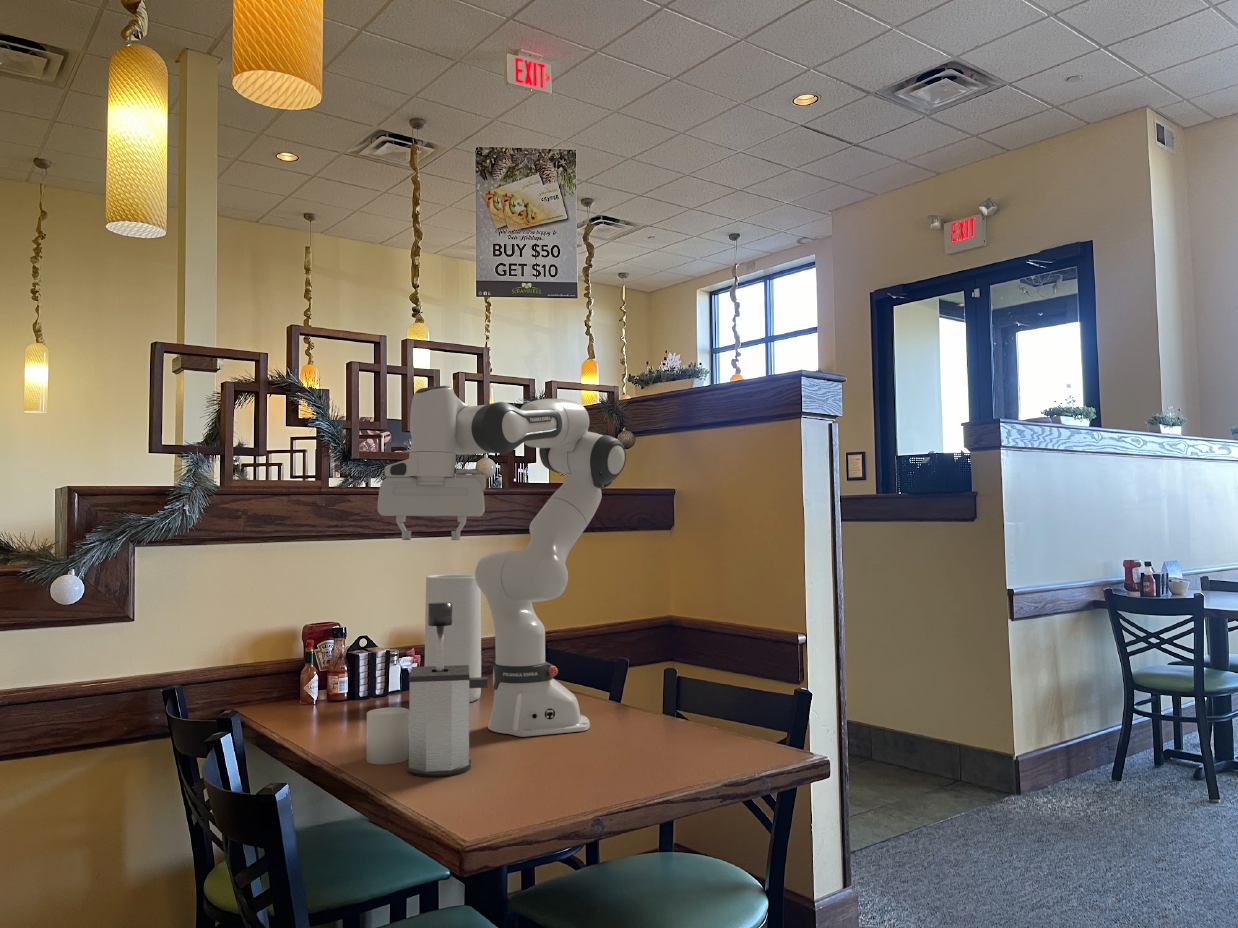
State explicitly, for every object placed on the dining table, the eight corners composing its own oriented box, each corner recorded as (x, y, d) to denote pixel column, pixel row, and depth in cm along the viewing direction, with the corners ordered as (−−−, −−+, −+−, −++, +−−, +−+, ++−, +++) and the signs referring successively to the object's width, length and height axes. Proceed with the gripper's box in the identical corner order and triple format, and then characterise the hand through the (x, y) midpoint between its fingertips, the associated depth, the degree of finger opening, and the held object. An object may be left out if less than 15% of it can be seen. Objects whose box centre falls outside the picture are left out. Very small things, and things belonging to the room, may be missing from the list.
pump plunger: (451, 713, 171) (452, 601, 172) (451, 718, 166) (452, 604, 168) (428, 714, 170) (428, 602, 171) (427, 719, 166) (428, 604, 167)
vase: (425, 695, 237) (426, 574, 239) (480, 693, 239) (480, 573, 241) (423, 706, 223) (424, 578, 224) (482, 704, 225) (482, 577, 227)
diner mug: (410, 748, 182) (411, 703, 183) (407, 762, 172) (408, 715, 172) (370, 750, 181) (370, 705, 182) (364, 765, 170) (364, 717, 171)
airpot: (405, 778, 161) (406, 676, 162) (409, 761, 172) (409, 666, 173) (488, 774, 163) (488, 674, 165) (486, 757, 175) (486, 663, 176)
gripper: (488, 469, 178) (487, 540, 177) (383, 469, 177) (381, 539, 176) (484, 467, 172) (483, 540, 171) (376, 467, 171) (374, 540, 170)
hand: (431, 540), depth 173 cm, fingers open, 8 cm apart
